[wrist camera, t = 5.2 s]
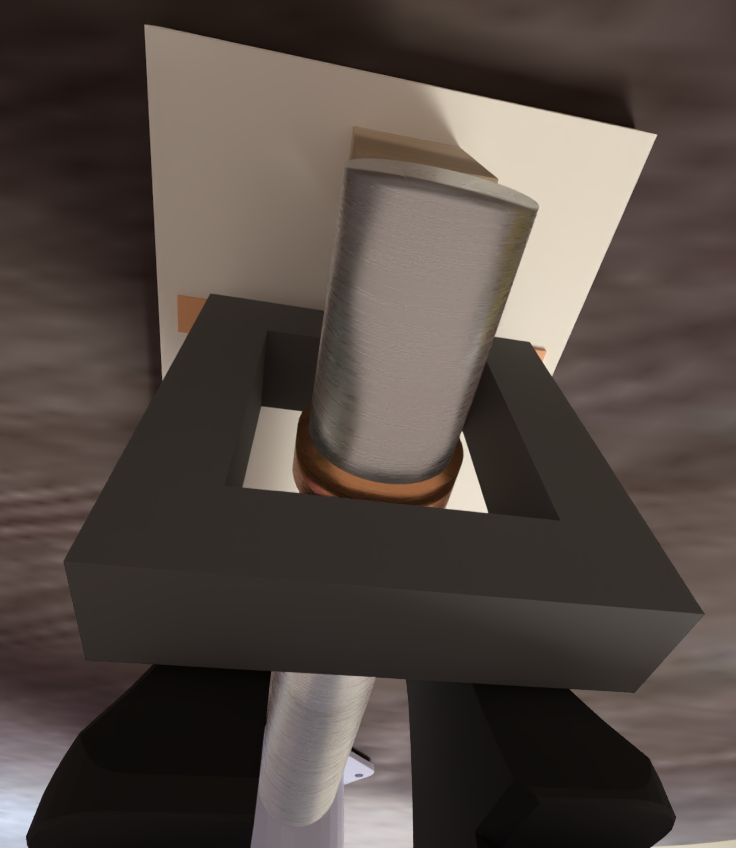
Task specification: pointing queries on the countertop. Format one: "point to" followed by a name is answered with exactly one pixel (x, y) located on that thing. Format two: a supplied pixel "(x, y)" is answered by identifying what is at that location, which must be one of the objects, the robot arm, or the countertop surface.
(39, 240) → the countertop surface
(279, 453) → the base board
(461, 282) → the pipe
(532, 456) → the collar
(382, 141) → the tan wooden bar
